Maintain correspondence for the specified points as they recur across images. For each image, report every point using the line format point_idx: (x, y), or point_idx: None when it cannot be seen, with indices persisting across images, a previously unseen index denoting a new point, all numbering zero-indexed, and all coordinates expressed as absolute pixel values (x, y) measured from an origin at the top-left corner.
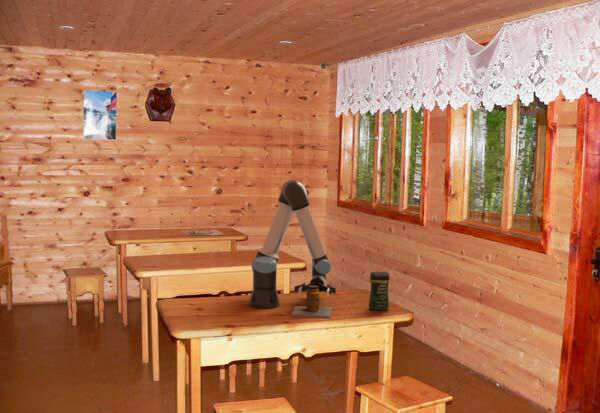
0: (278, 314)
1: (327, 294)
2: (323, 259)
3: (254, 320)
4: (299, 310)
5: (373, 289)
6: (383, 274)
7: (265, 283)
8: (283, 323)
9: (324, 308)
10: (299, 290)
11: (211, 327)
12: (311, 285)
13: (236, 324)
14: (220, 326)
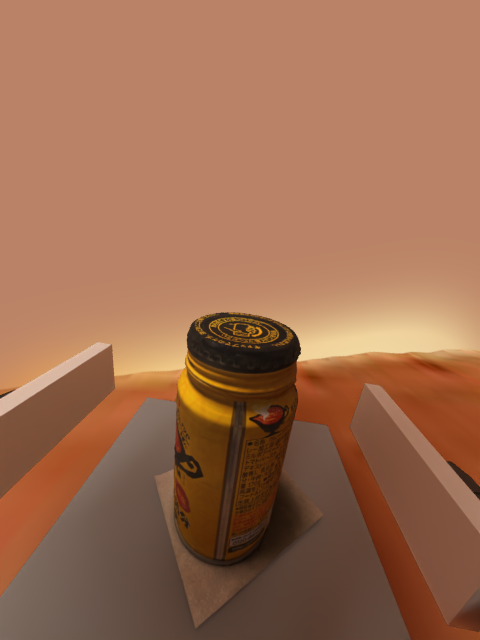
0: None
1: (109, 371)
2: None
3: (421, 395)
4: (317, 505)
5: None
6: None
7: None
8: (316, 369)
9: (79, 608)
10: (370, 389)
11: (457, 362)
12: (265, 345)
13: (429, 372)
14: (447, 365)
